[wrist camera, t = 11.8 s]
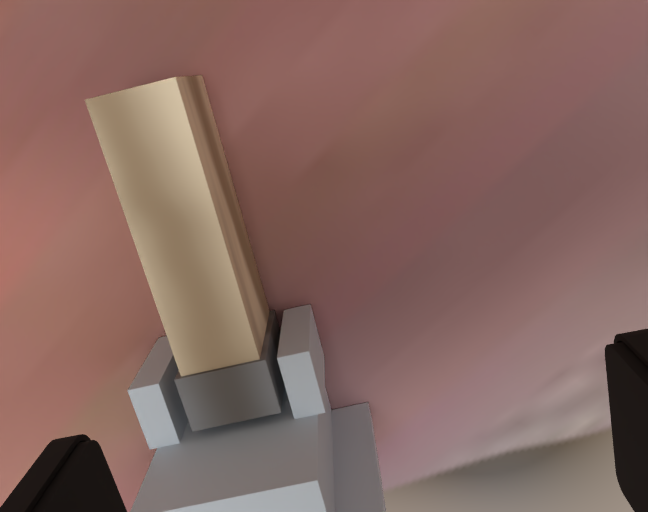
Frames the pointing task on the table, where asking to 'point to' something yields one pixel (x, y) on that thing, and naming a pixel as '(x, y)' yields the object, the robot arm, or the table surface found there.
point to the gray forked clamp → (259, 441)
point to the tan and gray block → (193, 247)
